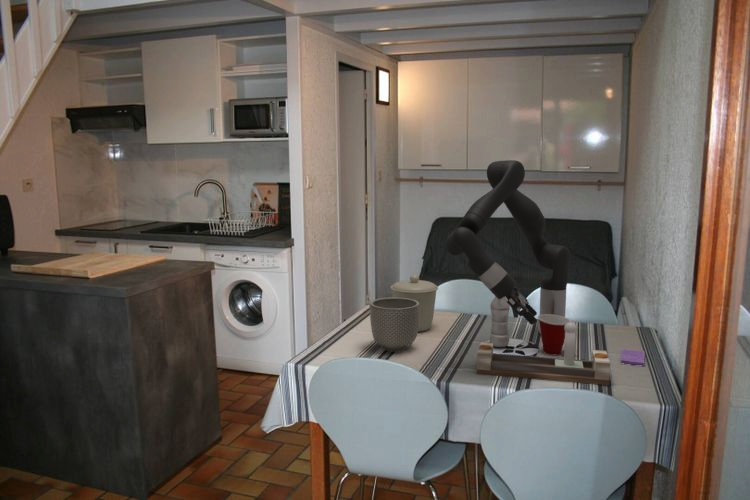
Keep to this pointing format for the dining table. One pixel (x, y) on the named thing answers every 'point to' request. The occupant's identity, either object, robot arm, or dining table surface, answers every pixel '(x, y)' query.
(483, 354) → the rail track
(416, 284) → the canister
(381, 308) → the planter
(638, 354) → the sponges
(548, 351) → the plastic cup
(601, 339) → the dining table surface
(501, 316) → the plastic bottle
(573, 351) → the carriage
